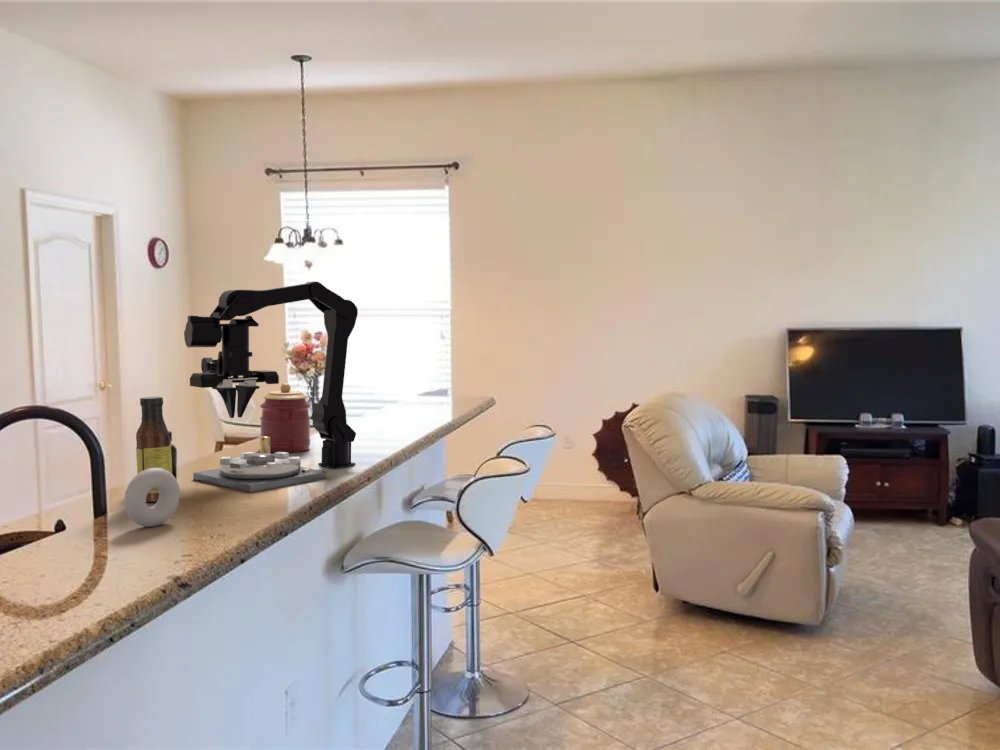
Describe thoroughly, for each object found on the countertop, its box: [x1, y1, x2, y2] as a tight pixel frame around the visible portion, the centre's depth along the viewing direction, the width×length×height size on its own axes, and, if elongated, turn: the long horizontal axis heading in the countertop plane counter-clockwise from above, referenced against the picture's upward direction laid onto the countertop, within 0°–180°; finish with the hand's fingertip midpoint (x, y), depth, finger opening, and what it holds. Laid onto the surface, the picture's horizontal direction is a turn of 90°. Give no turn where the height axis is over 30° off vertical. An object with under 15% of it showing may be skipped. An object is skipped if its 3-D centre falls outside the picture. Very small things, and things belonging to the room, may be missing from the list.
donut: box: [123, 468, 181, 528], centre depth 142 cm, size 10×4×10 cm, turn 148°
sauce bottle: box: [135, 396, 173, 503], centre depth 161 cm, size 6×6×20 cm
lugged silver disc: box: [219, 436, 302, 479], centre depth 184 cm, size 17×17×6 cm
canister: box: [259, 383, 312, 454], centre depth 223 cm, size 13×13×18 cm
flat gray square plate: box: [192, 466, 328, 494], centre depth 184 cm, size 20×20×2 cm
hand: (235, 417), depth 186 cm, fingers closed
